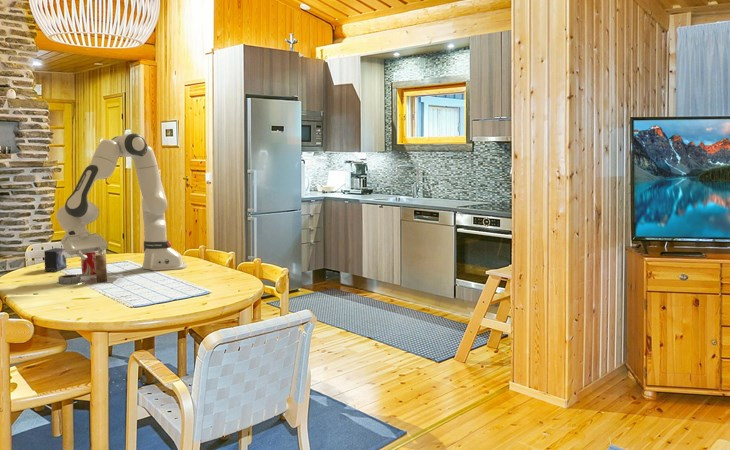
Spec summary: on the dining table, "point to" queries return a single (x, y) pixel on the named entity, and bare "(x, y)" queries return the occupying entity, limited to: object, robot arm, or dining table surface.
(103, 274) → the peg
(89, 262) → the soda can
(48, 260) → the small box
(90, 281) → the pad
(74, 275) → the ring stand
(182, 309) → the dining table surface
